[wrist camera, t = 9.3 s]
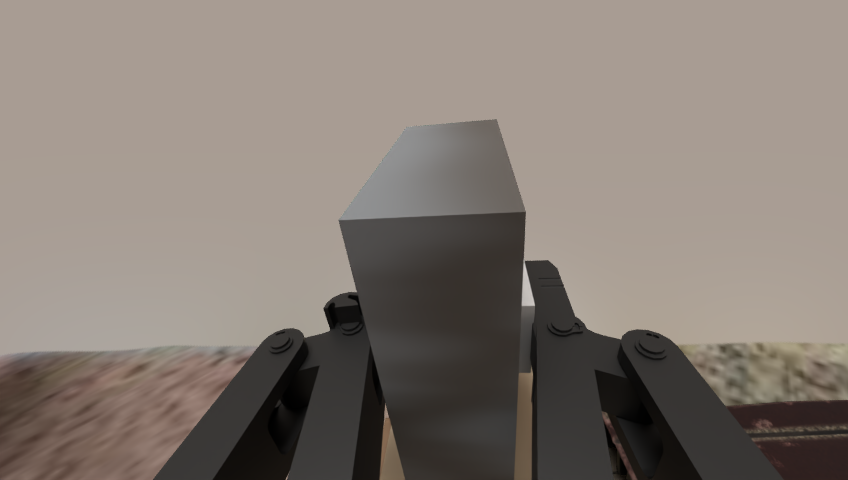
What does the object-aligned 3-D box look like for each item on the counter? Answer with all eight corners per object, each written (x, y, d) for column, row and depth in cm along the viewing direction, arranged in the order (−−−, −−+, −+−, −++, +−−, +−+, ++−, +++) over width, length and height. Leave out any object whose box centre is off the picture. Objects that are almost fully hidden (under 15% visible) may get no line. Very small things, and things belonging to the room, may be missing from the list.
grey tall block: (378, 563, 12) (238, 238, 5) (412, 371, 19) (368, 127, 12) (560, 584, 11) (647, 222, 5) (525, 374, 18) (541, 112, 11)
